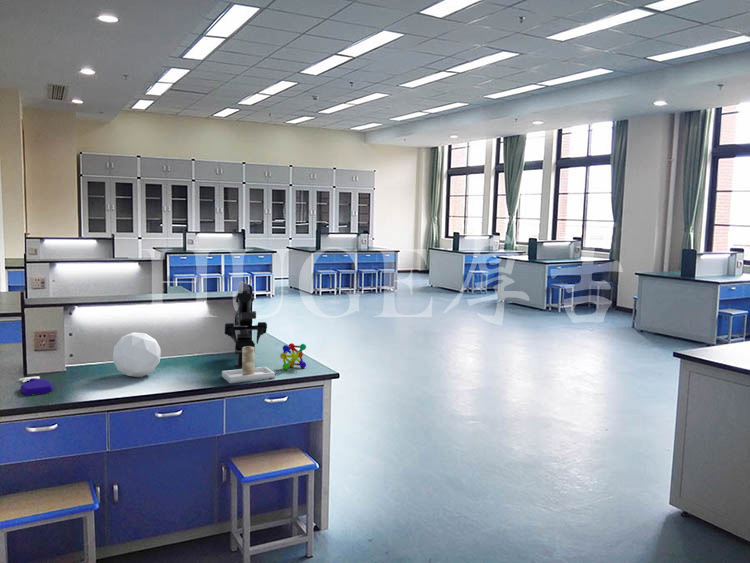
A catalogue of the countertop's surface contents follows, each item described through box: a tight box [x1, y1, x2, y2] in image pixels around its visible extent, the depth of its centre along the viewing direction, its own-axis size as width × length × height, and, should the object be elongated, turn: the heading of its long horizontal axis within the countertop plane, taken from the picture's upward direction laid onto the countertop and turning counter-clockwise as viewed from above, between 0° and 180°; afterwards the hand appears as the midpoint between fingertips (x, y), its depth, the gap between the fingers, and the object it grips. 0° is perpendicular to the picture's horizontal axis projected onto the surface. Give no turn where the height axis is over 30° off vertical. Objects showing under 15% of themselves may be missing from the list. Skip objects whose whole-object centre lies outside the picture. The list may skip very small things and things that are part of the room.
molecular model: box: [279, 342, 307, 370], centre depth 288 cm, size 11×7×12 cm, turn 116°
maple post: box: [241, 346, 255, 376], centre depth 269 cm, size 5×5×13 cm
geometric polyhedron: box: [112, 331, 162, 378], centre depth 268 cm, size 19×20×20 cm
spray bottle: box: [19, 375, 54, 396], centre depth 248 cm, size 3×11×24 cm
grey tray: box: [221, 366, 276, 384], centre depth 270 cm, size 20×12×2 cm, turn 119°
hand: (246, 343), depth 275 cm, fingers open, 9 cm apart
